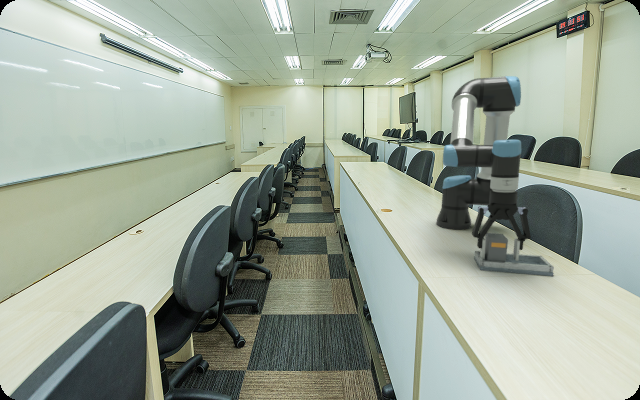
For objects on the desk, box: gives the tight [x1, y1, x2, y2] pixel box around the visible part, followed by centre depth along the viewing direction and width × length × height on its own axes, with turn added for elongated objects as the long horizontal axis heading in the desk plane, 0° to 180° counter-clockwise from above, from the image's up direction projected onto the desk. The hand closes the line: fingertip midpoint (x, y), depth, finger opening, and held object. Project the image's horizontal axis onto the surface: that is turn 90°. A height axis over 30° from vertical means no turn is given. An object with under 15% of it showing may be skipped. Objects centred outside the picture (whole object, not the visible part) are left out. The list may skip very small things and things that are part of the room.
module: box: [484, 232, 509, 262], centre depth 103 cm, size 6×5×9 cm
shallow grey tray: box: [473, 250, 555, 277], centre depth 103 cm, size 10×20×3 cm, turn 75°
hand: (498, 258), depth 103 cm, fingers open, 9 cm apart
